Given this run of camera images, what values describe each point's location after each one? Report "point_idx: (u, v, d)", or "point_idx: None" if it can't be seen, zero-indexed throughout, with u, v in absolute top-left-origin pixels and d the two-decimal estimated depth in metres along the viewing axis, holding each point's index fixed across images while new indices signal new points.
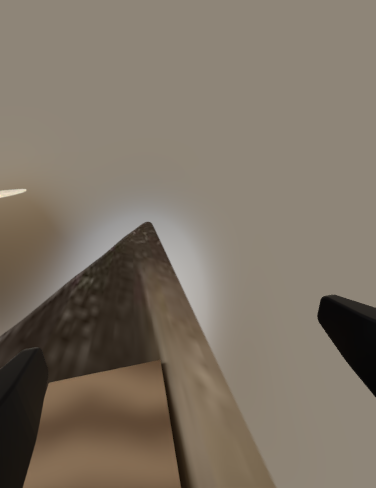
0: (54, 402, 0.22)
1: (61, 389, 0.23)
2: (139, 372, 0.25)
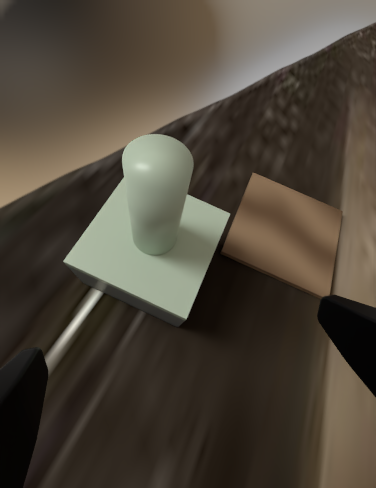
0: (256, 190, 0.27)
1: (261, 183, 0.28)
2: (322, 210, 0.27)
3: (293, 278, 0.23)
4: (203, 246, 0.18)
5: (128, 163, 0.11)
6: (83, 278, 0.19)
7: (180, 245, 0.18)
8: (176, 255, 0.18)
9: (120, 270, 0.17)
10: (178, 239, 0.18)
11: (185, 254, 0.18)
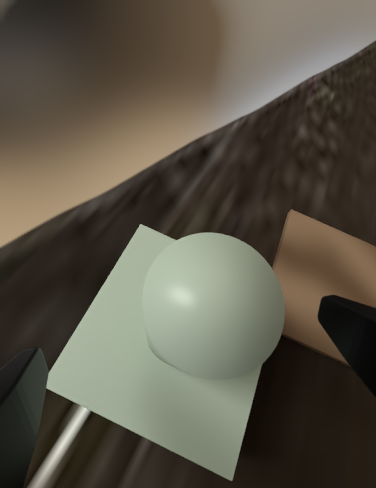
0: (297, 234, 0.22)
1: (303, 224, 0.22)
2: None
3: None
4: None
5: (155, 312, 0.05)
6: None
7: None
8: None
9: (128, 396, 0.11)
10: None
11: None
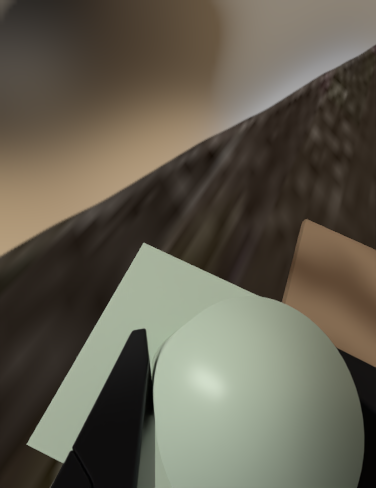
0: (312, 246, 0.20)
1: (318, 235, 0.20)
2: None
3: None
4: None
5: (176, 437, 0.03)
6: None
7: None
8: None
9: None
10: None
11: None
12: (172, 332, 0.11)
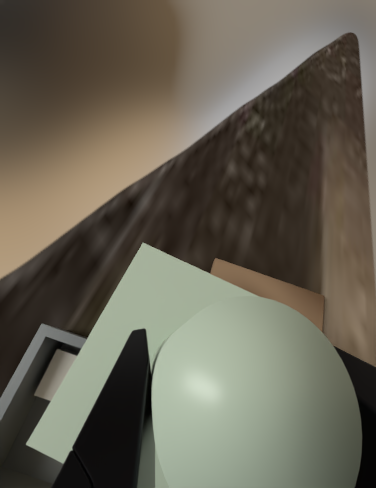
0: None
1: (226, 272, 0.23)
2: (300, 298, 0.23)
3: None
4: None
5: (173, 437, 0.03)
6: None
7: None
8: None
9: None
10: None
11: None
12: (171, 332, 0.11)
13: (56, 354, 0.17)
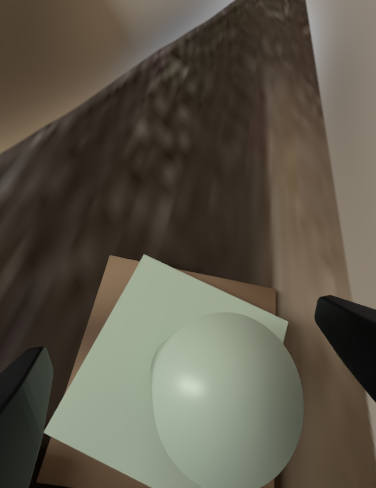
0: (116, 295, 0.15)
1: (126, 275, 0.15)
2: (241, 298, 0.16)
3: None
4: None
5: (167, 414, 0.05)
6: None
7: None
8: None
9: (133, 442, 0.11)
10: None
11: None
12: (169, 335, 0.13)
13: None
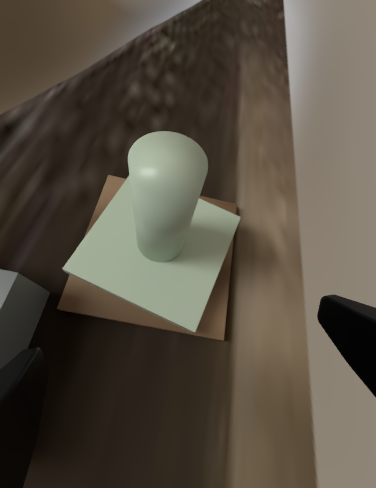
0: None
1: None
2: None
3: None
4: (212, 252, 0.17)
5: (135, 164, 0.09)
6: None
7: (188, 251, 0.17)
8: (183, 262, 0.16)
9: (123, 278, 0.15)
10: (185, 244, 0.17)
11: (193, 261, 0.17)
12: None
13: None
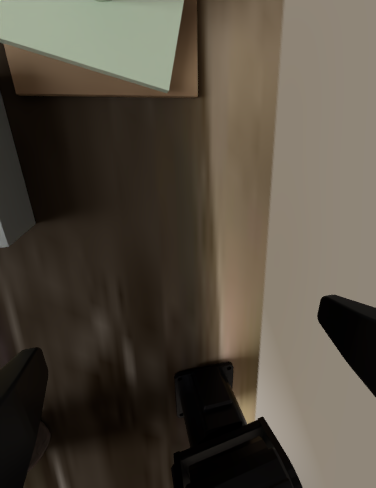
0: None
1: None
2: None
3: (141, 86, 0.16)
4: None
5: None
6: None
7: None
8: None
9: (72, 36, 0.13)
10: None
11: None
12: None
13: None
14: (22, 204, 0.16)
